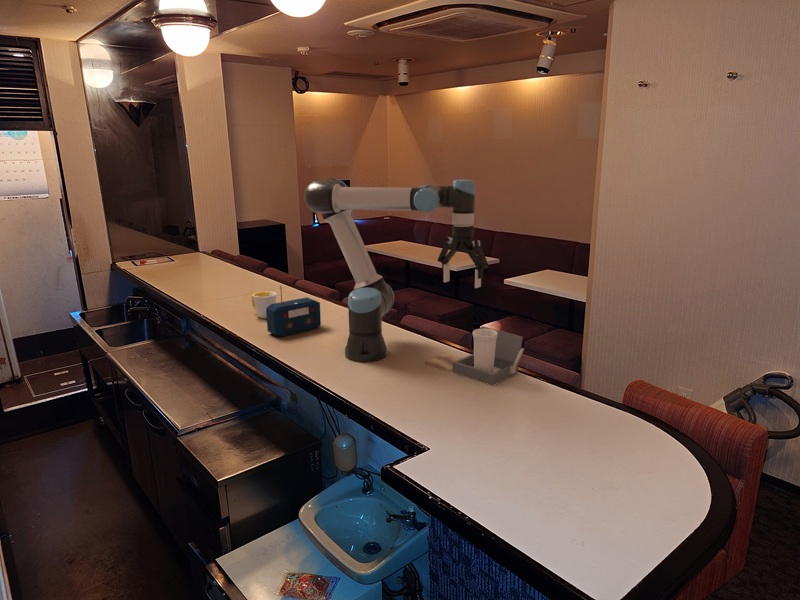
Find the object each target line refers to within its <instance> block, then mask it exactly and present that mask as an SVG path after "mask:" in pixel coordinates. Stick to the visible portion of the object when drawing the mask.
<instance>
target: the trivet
mask: <svg viewBox="0 0 800 600" xmlns="http://www.w3.org/2000/svg"><path fill="white" fill-rule="evenodd" d="M462 358H463V357H462ZM462 358H461V357H458V356H455V355H452V354H448V353H443V354H440V355H438V356H435V357H433V358H430V359H428V360H426V361H425V360H424V363H425V364H426V365H430V366H432V367H436V368H439V369H440V370H444V371H447V372H453V362H455V361H457V360H460V359H462Z"/></svg>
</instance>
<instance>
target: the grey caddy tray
mask: <svg viewBox="0 0 800 600" xmlns="http://www.w3.org/2000/svg"><path fill="white" fill-rule="evenodd" d="M480 329H492V330H495V331H496V332H497V333H498V334H497V339H496V347H495V358H494V368H495V367H496V369H498V368H499V369H498V370H497V371H495V372H493V374H492V373H489V372H486V371H483V370H480V369H477V368H474V365H473V364H474V353H472V354H470V355H467V356H465V357H462V359H460V360H457V361H455V362H453V370H452V372H453V373H455V374H458V375H461V376H463V375H464V376H463V377H466V376H467V377H466V378H469V379H472V378H473V379H472V380H475V379H476V380H475V381H477V382H478V381H479V382H480V381H481V383H483V382H485V383H484V384H486V383H488V384H487V385H489V384H491V385H490V386H492V385H494V386H495V384H496V383H498V382H500V381H502V380H504V379H506V378H507V379H509V378H511V377H513V376H515V375H517V374H518V373H519V361H520V359H521V357H522V355H523V352H524V351H525V348H523V347H522V344H523V337H524V336H520V335H517V334H513V333H509V332H506V331H502V330H497V329H494V328H490V327H487V326H483V325H482V326H481V327H480ZM471 365H472V366H471ZM508 377H509V378H508ZM507 379H506V380H507ZM504 381H505V380H504ZM502 382H503V381H502ZM500 383H501V382H500ZM498 384H499V383H498ZM496 385H497V384H496Z"/></svg>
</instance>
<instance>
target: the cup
mask: <svg viewBox="0 0 800 600" xmlns="http://www.w3.org/2000/svg"><path fill="white" fill-rule="evenodd" d="M492 329H493V328H491V329H481V328H476V329H474V330H473V331H472V337H473V354H474V365H473V367H474V368H477V369H480V370H483V371H486V372H489V373H492V374H493V373H494V370H495V369H494V368H495V367H494V358H495V347H496V339H497V334H498V333H497V332H496V331H495V330H496V329H495V330H492Z"/></svg>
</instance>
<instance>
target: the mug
mask: <svg viewBox="0 0 800 600" xmlns="http://www.w3.org/2000/svg"><path fill="white" fill-rule="evenodd" d="M274 303H277V292H274V291H257V292H254V293H253V294H252V296H251V304H252V309H254V310H255V313H256V315H257V316H258V318H260V319H267V315H266V308H267V307H268V306H269V305H271V304H274Z"/></svg>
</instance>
